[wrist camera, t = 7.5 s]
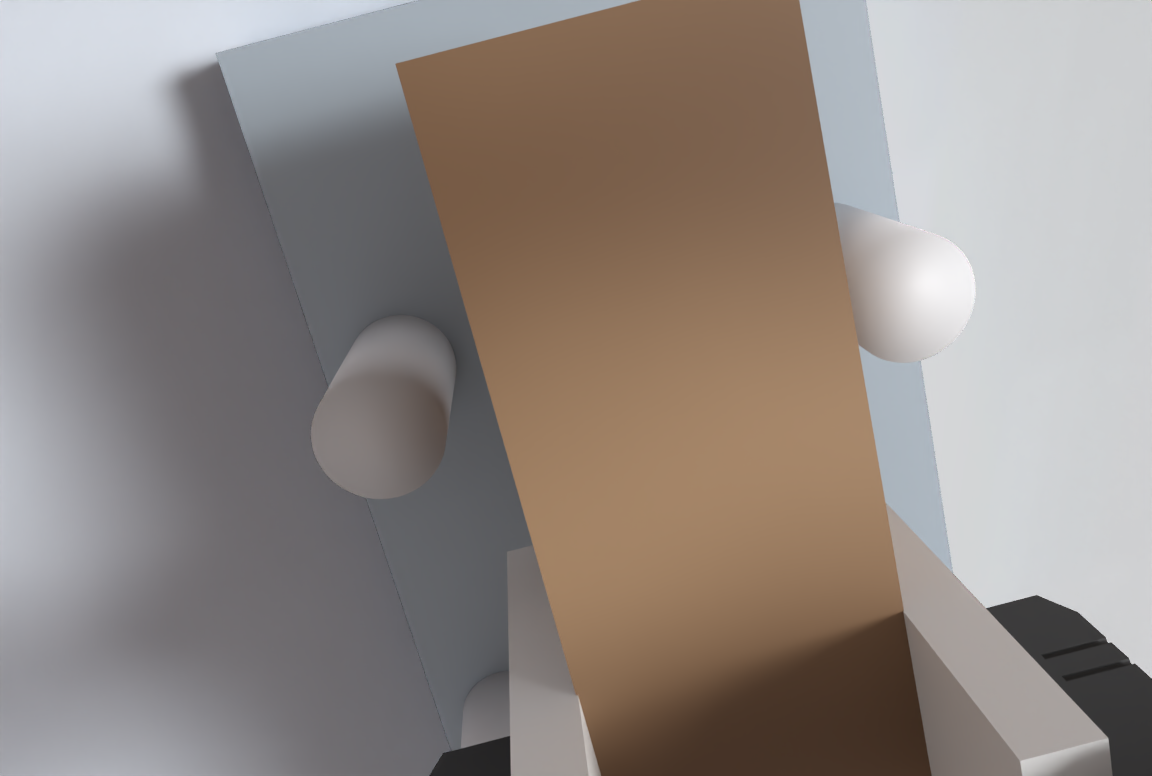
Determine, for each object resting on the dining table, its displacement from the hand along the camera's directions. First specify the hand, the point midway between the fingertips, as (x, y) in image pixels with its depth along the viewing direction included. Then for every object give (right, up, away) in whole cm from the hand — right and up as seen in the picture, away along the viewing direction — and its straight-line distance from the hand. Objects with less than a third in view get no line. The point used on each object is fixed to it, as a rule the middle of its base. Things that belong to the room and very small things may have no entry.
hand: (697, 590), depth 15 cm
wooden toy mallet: (0, 0, 0) cm, 1 cm away
